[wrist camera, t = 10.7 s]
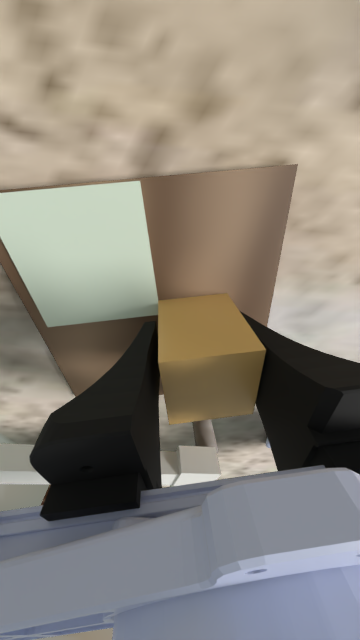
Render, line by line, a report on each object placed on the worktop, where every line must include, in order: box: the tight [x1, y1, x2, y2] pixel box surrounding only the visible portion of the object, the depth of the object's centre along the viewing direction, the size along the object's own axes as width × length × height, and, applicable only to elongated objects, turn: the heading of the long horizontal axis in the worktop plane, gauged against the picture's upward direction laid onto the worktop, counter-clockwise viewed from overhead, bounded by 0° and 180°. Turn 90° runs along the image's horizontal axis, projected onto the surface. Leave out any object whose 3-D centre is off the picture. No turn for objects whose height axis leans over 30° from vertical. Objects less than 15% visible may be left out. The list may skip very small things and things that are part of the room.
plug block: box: [158, 293, 266, 425], centre depth 11 cm, size 4×4×5 cm
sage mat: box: [0, 181, 158, 327], centre depth 10 cm, size 6×6×1 cm
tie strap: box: [0, 443, 221, 487], centre depth 9 cm, size 2×13×1 cm, turn 73°
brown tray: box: [0, 164, 298, 453], centre depth 10 cm, size 14×14×6 cm
